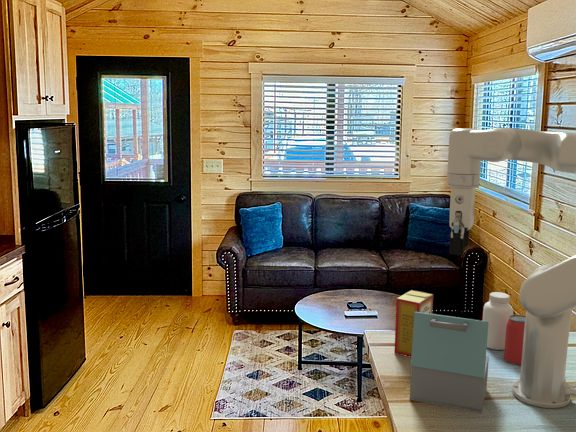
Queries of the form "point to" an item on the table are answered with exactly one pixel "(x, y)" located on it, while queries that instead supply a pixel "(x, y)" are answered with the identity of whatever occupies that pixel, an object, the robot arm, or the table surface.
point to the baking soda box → (409, 318)
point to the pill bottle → (497, 319)
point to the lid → (449, 344)
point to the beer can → (514, 339)
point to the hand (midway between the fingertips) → (458, 250)
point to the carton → (449, 388)
